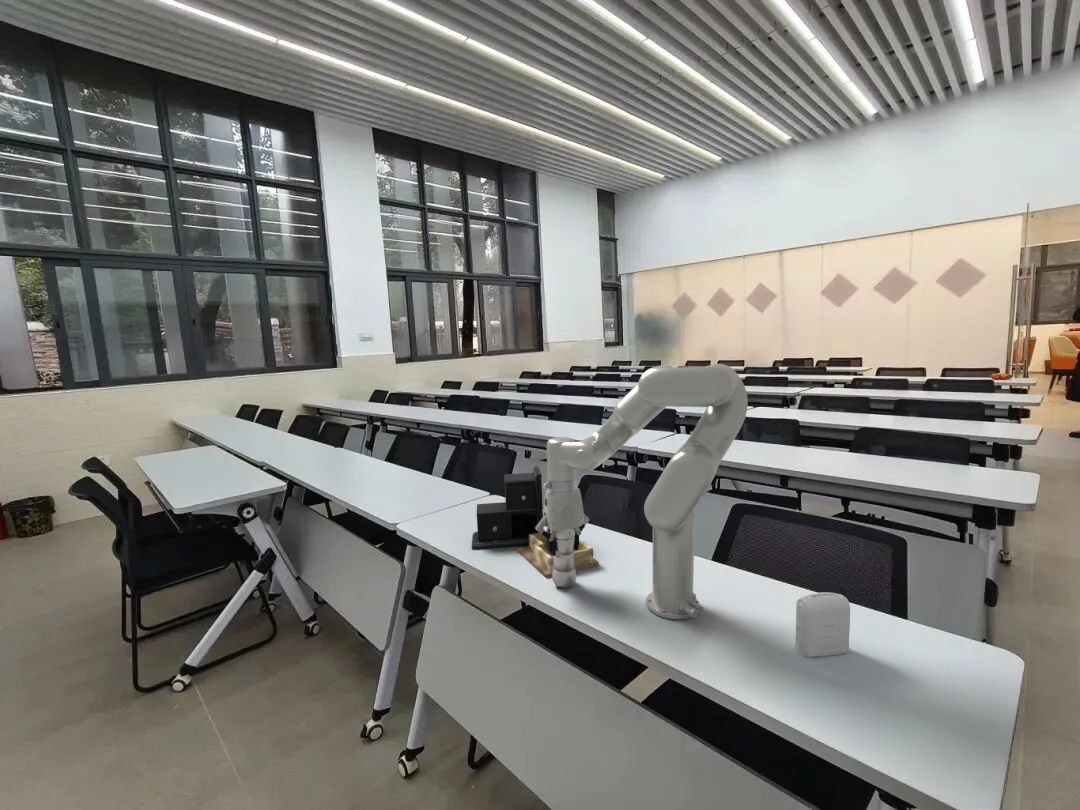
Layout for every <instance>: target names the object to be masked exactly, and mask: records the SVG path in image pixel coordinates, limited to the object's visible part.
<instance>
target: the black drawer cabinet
mask: <svg viewBox="0 0 1080 810" xmlns="http://www.w3.org/2000/svg"><path fill="white" fill-rule="evenodd" d="M503 476H504V478H503V480H504V481H503V483H504V497H505V499H504V500H505V501H503V502H490V503H486V502H485V503H477V504H476V526H477V528H476V529H477V531H475V532H473V534H472V537H471V550H472V549H476V550H486V549H488V550H489V549H497V548H498V549H499V548H511V547H512V548H513V547H523V546H524V547H527V546H529V535H530V534H535V533H540V532H538V531H537V530H536V529H535V527H536V526H537V524H538V523H539V522H540V521H541V519H542V518H543V506H544V503H543V488H542V487H543V484H542V478H543V477H542V473H541V470H540V467H539V466H538V465H535V466H534V467H533V469H532V472H525V473H524V472H523V473H521V472H520V473H508V474H507V473H505V474H504V475H503ZM544 527H545V526H544ZM544 527H543V529H544V530H545V528H544Z"/></svg>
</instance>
